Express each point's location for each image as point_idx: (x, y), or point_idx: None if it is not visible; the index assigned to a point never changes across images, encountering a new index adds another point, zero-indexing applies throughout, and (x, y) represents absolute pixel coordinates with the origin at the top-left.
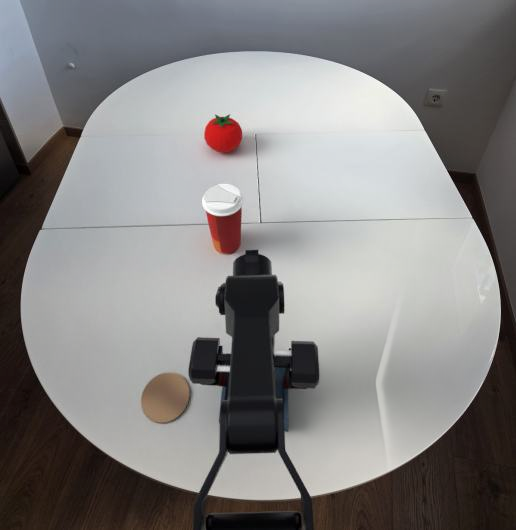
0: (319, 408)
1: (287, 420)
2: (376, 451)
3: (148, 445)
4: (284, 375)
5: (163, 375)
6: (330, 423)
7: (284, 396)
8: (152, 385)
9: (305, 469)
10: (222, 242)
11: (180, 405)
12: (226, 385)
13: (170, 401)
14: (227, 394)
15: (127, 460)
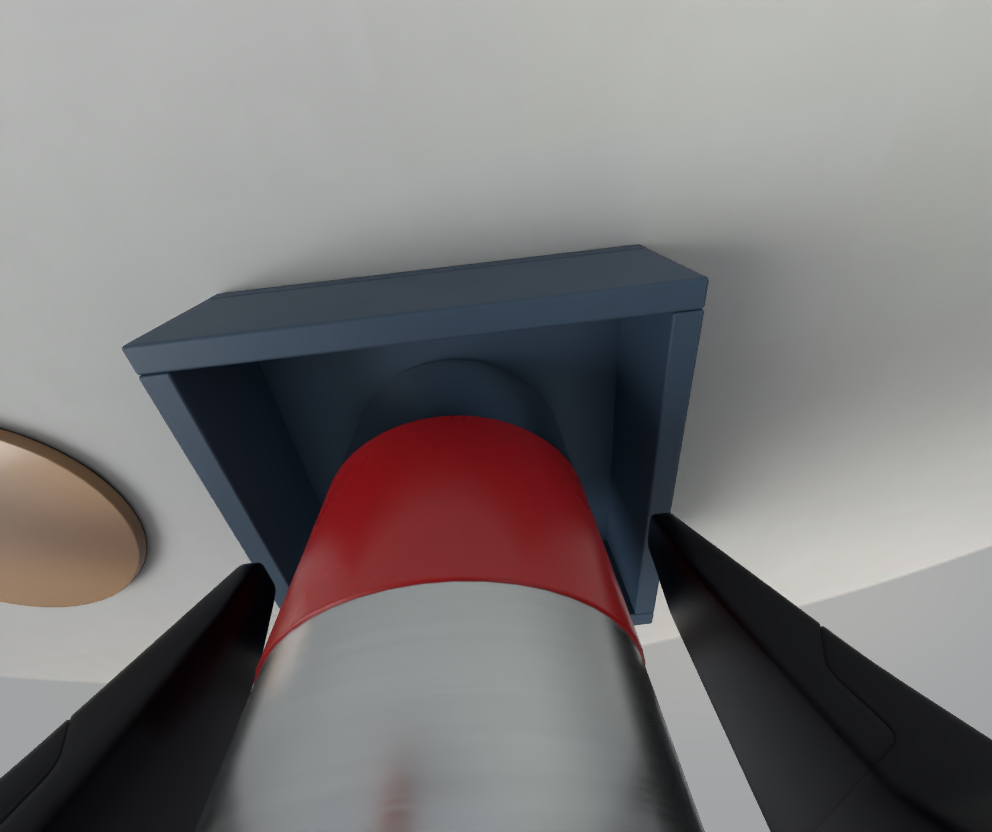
0: (775, 444)
1: (649, 616)
2: (938, 534)
3: (101, 646)
4: (729, 639)
5: None
6: (803, 486)
7: (639, 522)
8: None
9: None
10: None
11: (108, 547)
12: (253, 671)
13: (45, 541)
14: (311, 476)
15: (68, 680)
